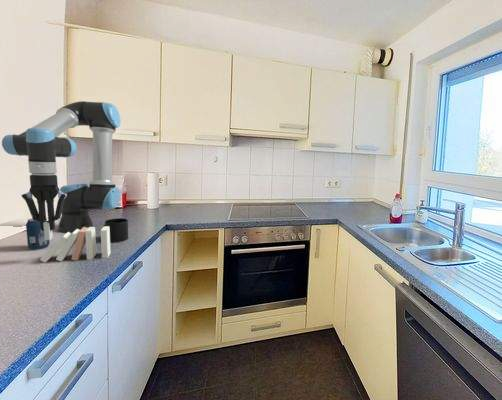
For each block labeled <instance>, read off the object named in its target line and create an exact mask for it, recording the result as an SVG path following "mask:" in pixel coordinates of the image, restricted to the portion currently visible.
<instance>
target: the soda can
mask: <svg viewBox="0 0 502 400" xmlns="http://www.w3.org/2000/svg"><path fill="white" fill-rule="evenodd" d="M25 230H26V240H27V247H28V248H29V249H30V250H32V251H39V250H43V249H44V250H45V249H47V248H48V247H49V246H50V240H45V236H44V231H41V226H40V222H39V221H34V220H33V218H32V217H31V218H28V219H27V222H26V224H25Z"/></svg>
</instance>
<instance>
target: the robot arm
mask: <svg viewBox="0 0 502 400" xmlns="http://www.w3.org/2000/svg"><path fill="white" fill-rule="evenodd" d="M77 126H78V127H79V126H88V129H89V130H91V132H92V180H91V181H90V182H89V185H88V183H76V184H67V185H62V186H61V187H60V188H59V185H58V176H57V172H58V171H57V160H56V158H65V159H66V158H70V157H73V156H75V154H76V152H77V149H78V148H77V145H76V143H75V141H74V140H72V139H71V138H67V137H65V136H64V137H60V135H62V134H63V133H65V132H66V131H67V130H69V129H74V128H76V127H77ZM120 126H121V116H120V113H119V110H118V108H117V107H116V106H115V105H114V104H113V103H110V102H103V101H102V102H101V101H100V102H99V101H85V100H84V101H82V100H80V101H74V102H71V103H68V104H66V105H64V106H62V107H60V108H58V109H57V110H56V112H55V114H53V115H51V116H49V117H48V118H46V119H44V120H43V121H41V122H39V123H37V124H36V125H34V126H32V127H31V128H30V127H29V128H27V129H26V130H25V131H23V132H21V133H20V134H15V133H14V134H7V135H5V136H3V138H2V139H1V147H2V149H3V150H4V152H5V153H7V154H8V155H11V156H18V157H19V156H20V157H21V156H26V157H27V158H28V159H27V160H28V161H27V162H28V172H29V173H30V175H29V184H30V188H29V191H28V192H26V193H24V194H21V197H22V199H23V200H24V201H25V203H26V206H27V207H28V210H29V213H30V216H31V219H32V218H33V220H34V221H39V222H40V226H41V231H44V236H45V240H49V241H50V240H51V239H53V231H55V229H56V224H55V223H56V222H55V221H59V223H58V226H57V230H58V231H59V232H61V233H68V232H70V233H73V232H74V231H75V230H76V229H79V230H81V229H82V228H83V227H86V228H89V227H94V222H93V219H92V217H91V215H90V210H103V211H108V210H109V211H110V210H111V211H112V210H115V208H117V206H118V205H119V202H120V200H121V199H120V198H121V192H120V189H119V187H116V183H115V182H114V181H113V134H114V133H116V131H117V129H118V128H119V127H120ZM116 128H117V129H116ZM56 197H57V198H58V199H57V204H56V208H55V204H54V203H55V202H54V201H55V198H56ZM34 198H35V199H36V203H37V205H36V203H35V201H34ZM37 207H38V209H37ZM46 211H47V212H46Z"/></svg>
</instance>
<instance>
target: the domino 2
mask: <svg viewBox="0 0 502 400" xmlns="http://www.w3.org/2000/svg"><path fill="white" fill-rule="evenodd" d="M79 231H80V230H79V229H76V230H75V231H74V232H71V236H70V237H69V239H68V241H67V242H66V243H65V244H64V245H63V246H62V249H61V250H60V252H59V253H58V255H57V256H56V258H55V260H56V261H59V262H63V261H64V260H65V258H66V257H68V255H69V254H70V252H71V250H72V249H73V247H74V246H75V244H76V241H77V237H78V234H79Z"/></svg>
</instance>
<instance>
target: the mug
mask: <svg viewBox="0 0 502 400" xmlns="http://www.w3.org/2000/svg"><path fill="white" fill-rule="evenodd" d="M102 226H103V227H104V226H109V227H110V243H120V242H121V243H122V242H125V241H127V240H128V239H129V220H128V219H127V218H123V217H122V218H109V219H107V220H105V221H104V224H103V225H102ZM103 227H102V228H103Z"/></svg>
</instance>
